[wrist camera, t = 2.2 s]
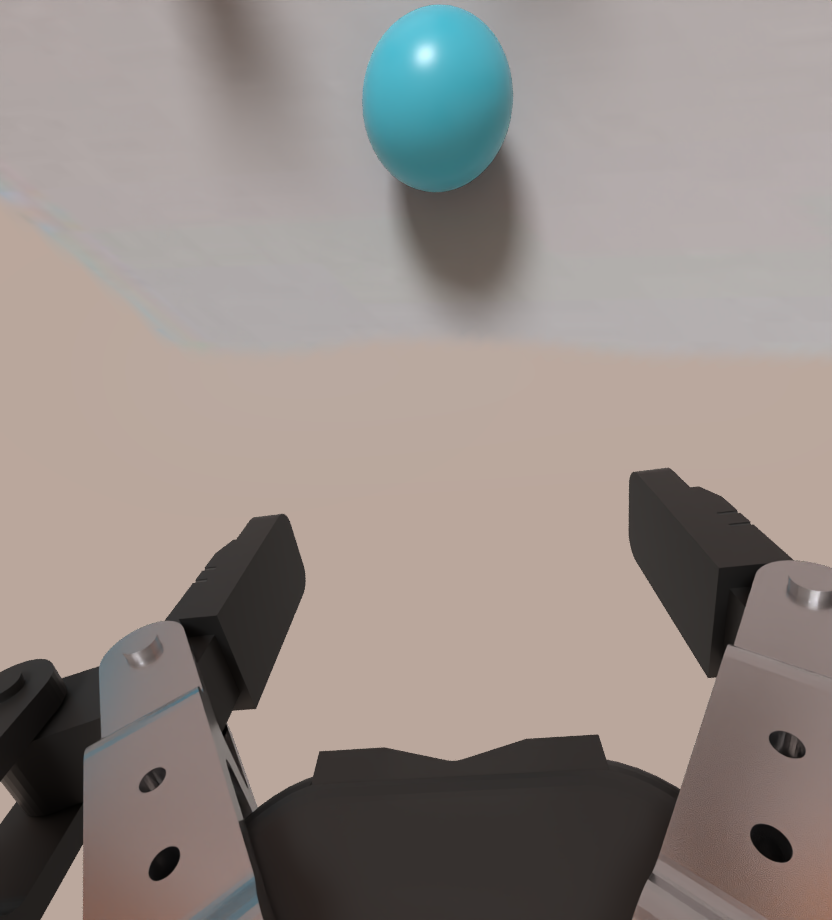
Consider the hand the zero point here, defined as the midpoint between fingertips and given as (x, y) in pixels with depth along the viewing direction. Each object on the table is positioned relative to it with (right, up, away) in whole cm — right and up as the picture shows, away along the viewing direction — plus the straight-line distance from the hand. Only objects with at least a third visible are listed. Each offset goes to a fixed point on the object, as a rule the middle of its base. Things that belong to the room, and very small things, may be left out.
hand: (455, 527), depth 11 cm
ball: (0, +16, +8) cm, 18 cm away
